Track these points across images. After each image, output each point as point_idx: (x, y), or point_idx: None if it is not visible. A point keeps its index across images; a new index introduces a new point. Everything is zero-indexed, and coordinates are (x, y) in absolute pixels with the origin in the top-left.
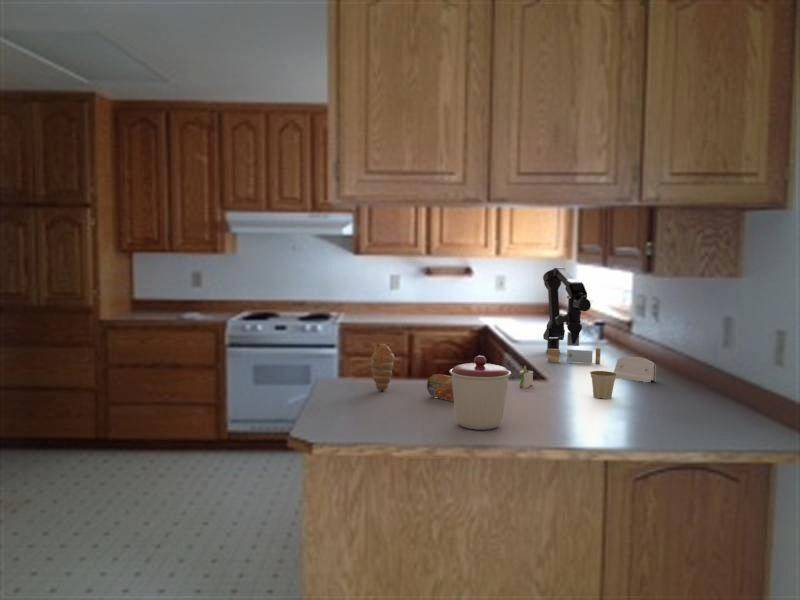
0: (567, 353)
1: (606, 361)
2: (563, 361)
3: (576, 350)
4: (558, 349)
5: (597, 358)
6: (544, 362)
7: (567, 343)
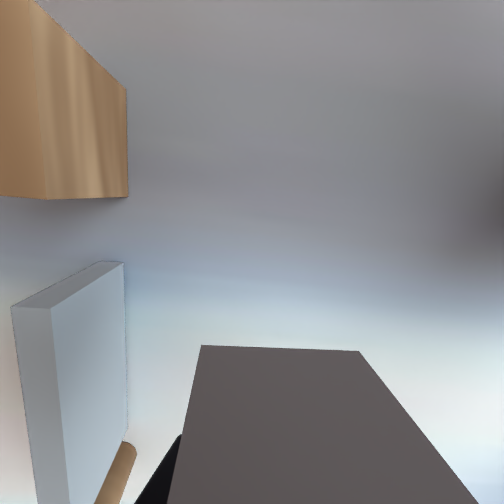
0: (48, 290)
1: None
2: (161, 238)
3: (26, 408)
4: (2, 181)
5: None
6: None
7: (291, 359)
